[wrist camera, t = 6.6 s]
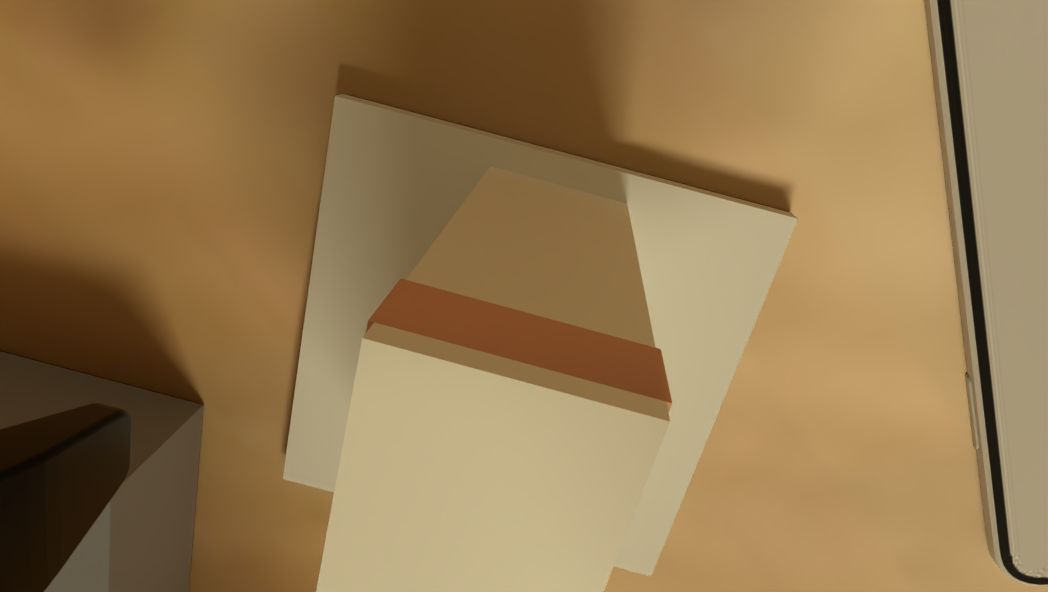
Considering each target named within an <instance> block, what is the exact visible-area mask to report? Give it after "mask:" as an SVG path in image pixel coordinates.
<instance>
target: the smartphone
mask: <svg viewBox="0 0 1048 592" xmlns="http://www.w3.org/2000/svg"><path fill="white" fill-rule="evenodd" d="M924 1H925V10H926V19H927V27H928V36H929V45H930V54H931V62H932V71H933V80H934V88H935V97H936V106H937V114H938V123H939V132H940V141H941V149H942V158H943V167H944V175H945V184H946V193H947V202H948V210H949V212H950V215H949V219H950V228H951V236H952V245H953V254H954V262H955V271H956V280H957V288H958V287H959V286H960V287H959V288H958V297H959V306H960V314H961V323H962V332H963V340H964V349H965V358H966V366H967V373H968V374H966V375H965V377H966V386H967V395H968V403H969V412H970V420H971V429H972V438H973V446H974V448H975V449H976V453H977V462H978V470H979V479H980V488H981V496H982V505H983V514H984V522H985V531H986V539H987V545H988V549H989V552H990V555H991V557H992V558H993V560H994V561H995V563H996V564H997V565H998V567H999V568H1000V569H1001V571H1002V572H1003V573H1004V574H1005V575H1006V576H1008V577H1009V578H1010V579H1012V580H1014V581H1016V582H1019V583H1022V584H1026V585H1032V586H1048V0H924ZM949 207H950V208H949ZM950 209H951V210H950ZM951 213H952V214H951ZM952 221H953V222H952ZM953 229H954V230H953ZM954 237H955V239H954ZM955 246H956V247H955ZM956 254H957V256H956ZM957 263H958V264H957ZM958 271H959V272H958ZM959 280H960V281H959Z"/></svg>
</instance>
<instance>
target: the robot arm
mask: <svg viewBox="0 0 1048 592" xmlns="http://www.w3.org/2000/svg"><path fill="white" fill-rule="evenodd" d="M131 437H132V418H131V415H130V413H129V412H128V411H127V410H125V409H122V408H118V407H115V406H111V405H107V404H103V403H91V404H88V405H84V406H80V407H77V408H73V409H70V410H66V411H63V412H59V413H56V414H52V415H49V416H45V417H41V418H38V419H34V420H31V421H27V422H24V423H20V424H17V425H13V426H9V427H6V428H2V429H0V592H44V591H45V590H46V589H47V587H48V586H49V585H50V584H51V582H52V581H53V580H54V578H55V577H56V576H57V574H58V573H59V572H60V570H61V569H62V568H63V566H64V565H65V563H66V562H67V561H68V559H69V558H70V556H71V555H72V554H73V552H74V551H75V549H76V548H77V547H78V545H79V544H80V542H81V541H82V540H83V538H84V537H85V535H86V534H87V533H88V531H89V530H90V528H91V527H92V526H93V524H94V523H95V521H96V520H97V519H98V517H99V516H100V514H101V513H102V512H103V510H104V509H105V507H106V506H107V505H108V503H109V502H110V500H111V499H112V498H113V496H114V495H115V493H116V492H117V491H118V489H119V488H120V486H121V485H122V483H123V482H124V480H125V478H126V476H127V474H128V471H129V468H130V462H131Z"/></svg>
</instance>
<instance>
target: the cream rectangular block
mask: <svg viewBox="0 0 1048 592" xmlns="http://www.w3.org/2000/svg"><path fill="white" fill-rule="evenodd" d="M671 406H672V399H671V395H670V390H669V385H668V380H667V376H666V371H665V366H664V362H663V357H662V352H661V349H659V348H656V347H655V342H654V337H653V332H652V327H651V322H650V316H649V311H648V306H647V301H646V296H645V291H644V286H643V281H642V276H641V271H640V266H639V261H638V256H637V251H636V245H635V240H634V235H633V230H632V225H631V220H630V215H629V210H628V205H627V203H623V202H619V201H616V200H612V199H608V198H605V197H601V196H597V195H594V194H590V193H586V192H583V191H579V190H575V189H572V188H568V187H564V186H561V185H557V184H553V183H550V182H546V181H542V180H539V179H535V178H531V177H528V176H524V175H520V174H517V173H513V172H509V171H506V170H502V169H498V168H495V167H490V168H489V169H488V171H487V172H486V173H485V175H484V176H483V177H482V179H481V180H480V181H479V183H478V184H477V185H476V187H475V188H474V189H473V191H472V192H471V193H470V195H469V196H468V197H467V199H466V200H465V201H464V203H463V204H462V205H461V207H460V208H459V209H458V211H457V212H456V213H455V215H454V216H453V217H452V219H451V220H450V221H449V223H448V224H447V225H446V227H445V228H444V229H443V231H442V232H441V233H440V235H439V236H438V237H437V239H436V240H435V241H434V243H433V244H432V245H431V247H430V248H429V249H428V251H427V252H426V254H425V255H424V256H423V258H422V259H421V260H420V262H419V263H418V264H417V266H416V267H415V268H414V270H413V271H412V272H411V274H410V275H409V276H408V278H407V279H406V280H405V279H401V278H400V280H399V281H398V282H397V284H396V285H395V286H394V288H393V289H392V290H391V291H390V293H389V294H388V295H387V297H386V298H385V299H384V300H383V302H382V303H381V304H380V306H379V307H378V308H377V310H376V311H375V312H374V313H373V315H372V316H371V317H370V319H369V320H368V323H367V328H366V334H365V335H364V336H363V338H362V342H361V347H360V353H359V358H358V364H357V369H356V375H355V380H354V386H353V392H352V397H351V403H350V408H349V414H348V419H347V425H346V430H345V436H344V441H343V447H342V452H341V458H340V463H339V469H338V474H337V480H336V485H335V491H334V496H333V502H332V507H331V513H330V518H329V524H328V529H327V535H326V540H325V546H324V551H323V557H322V562H321V568H320V573H319V579H318V584H317V590H316V592H604V589H605V587H606V584H607V582H608V579H609V577H610V574H611V572H612V569H613V567H614V564H615V561H616V559H617V556H618V554H619V551H620V549H621V546H622V544H623V541H624V538H625V536H626V533H627V531H628V528H629V526H630V523H631V521H632V518H633V515H634V513H635V510H636V508H637V505H638V503H639V500H640V498H641V495H642V492H643V490H644V487H645V485H646V482H647V480H648V477H649V475H650V472H651V469H652V467H653V464H654V462H655V459H656V457H657V454H658V452H659V449H660V446H661V444H662V441H663V439H664V436H665V434H666V431H667V429H668V426H669V423H670V418H669V411H670V408H671Z"/></svg>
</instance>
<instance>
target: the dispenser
mask: <svg viewBox="0 0 1048 592" xmlns="http://www.w3.org/2000/svg"><path fill="white" fill-rule="evenodd" d="M91 403H103V404H107V405H111V406H115V407H118V408H122V409H125V410H127V411H128V412H129V413H130V415H131V418H132V437H131V462H130V468H129V471H128V474H127V476H126V478H125V480H124V482H123V483H122V485H121V486H120V488H119V489H118V491H117V492H116V493H115V495H114V496H113V498H112V499H111V500H110V502H109V503H108V505H107V506H106V507H105V509H104V510H103V512H102V513H101V514H100V516H99V517H98V519H97V520H96V521H95V523H94V524H93V526H92V527H91V528H90V530H89V531H88V533H87V534H86V535H85V537H84V538H83V540H82V541H81V542H80V544H79V545H78V547H77V548H76V549H75V551H74V552H73V554H72V555H71V556H70V558H69V559H68V561H67V562H66V563H65V565H64V566H63V568H62V569H61V570H60V572H59V573H58V574H57V576H56V577H55V578H54V580H53V581H52V582H51V584H50V585H49V586H48V587H47V589H46V590H45V591H44V592H189V584H190V571H191V559H192V546H193V533H194V521H195V508H196V495H197V483H198V470H199V457H200V445H201V432H202V420H203V407H204V405H201V404H198V403H194V402H190V401H186V400H183V399H179V398H175V397H171V396H167V395H164V394H160V393H156V392H152V391H148V390H145V389H141V388H137V387H133V386H130V385H126V384H122V383H118V382H114V381H111V380H107V379H103V378H99V377H96V376H92V375H88V374H84V373H80V372H77V371H73V370H69V369H65V368H61V367H58V366H54V365H50V364H46V363H43V362H39V361H35V360H31V359H27V358H24V357H20V356H16V355H12V354H9V353H5V352H1V351H0V429H2V428H6V427H9V426H13V425H17V424H20V423H24V422H27V421H31V420H34V419H38V418H41V417H45V416H49V415H52V414H56V413H59V412H63V411H66V410H70V409H73V408H77V407H80V406H84V405H88V404H91Z"/></svg>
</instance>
